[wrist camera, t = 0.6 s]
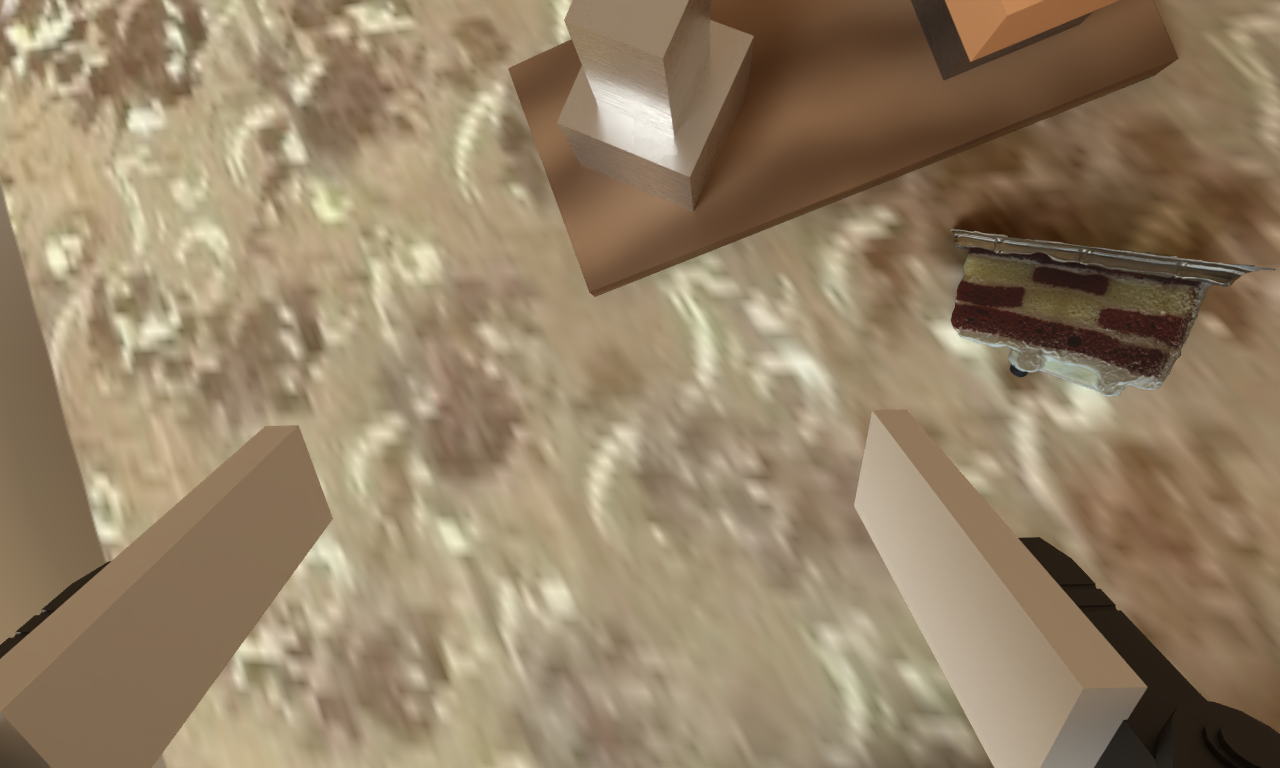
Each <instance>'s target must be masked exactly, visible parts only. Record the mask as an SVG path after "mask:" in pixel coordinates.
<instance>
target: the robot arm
mask: <svg viewBox="0 0 1280 768" xmlns="http://www.w3.org/2000/svg"><path fill="white" fill-rule="evenodd" d="M854 507H855V508H856V510H857V512H858V514H859V516H860V518H861V520H862V522H863V523H864V525H865V527H866V529H867V531H868V533H869V535H870V536H871V538H872V540H873V542H874V544H875V546H876V548H877V550H878V551H879V553H880V555H881V557H882V559H883V561H884V563H885V565H886V566H887V568H888V570H889V572H890V574H891V576H892V578H893V579H894V581H895V583H896V585H897V587H898V589H899V591H900V593H901V594H902V596H903V598H904V600H905V602H906V604H907V606H908V608H909V609H910V611H911V613H912V615H913V617H914V619H915V621H916V622H917V624H918V626H919V628H920V630H921V632H922V634H923V636H924V637H925V639H926V641H927V643H928V645H929V647H930V649H931V651H932V652H933V654H934V656H935V658H936V660H937V662H938V664H939V665H940V667H941V669H942V671H943V673H944V675H945V677H946V679H947V680H948V682H949V684H950V686H951V688H952V690H953V692H954V694H955V695H956V697H957V699H958V701H959V703H960V705H961V707H962V708H963V710H964V712H965V714H966V716H967V718H968V720H969V722H970V723H971V725H972V727H973V729H974V731H975V733H976V735H977V737H978V738H979V740H980V742H981V744H982V746H983V748H984V750H985V751H986V753H987V755H988V757H989V759H990V761H991V763H992V765H993V766H994V768H1280V734H1278V733H1277V732H1276V731H1275V730H1273V729H1272V728H1271V727H1269V726H1267V725H1265V724H1264V723H1262V722H1260V721H1258V720H1256V719H1254V718H1253V717H1251V716H1249V715H1247V714H1245V713H1243V712H1242V711H1239V710H1236V709H1233V708H1230V707H1227V706H1224V705H1221V704H1218V703H1215V702H1208V701H1207V700H1206V699H1205V698H1204V697H1203V696H1202V695H1201V694H1199V692H1198V691H1197V690H1196V689H1195V688H1194V687H1193V686H1192V685H1191V684H1190V683H1189V682H1188V681H1187V680H1186V679H1185V678H1184V677H1183V676H1182V675H1181V674H1180V672H1179V671H1178V670H1177V669H1176V668H1175V667H1174V666H1173V665H1172V664H1171V663H1170V662H1169V661H1168V660H1167V659H1166V658H1165V657H1164V656H1163V655H1162V653H1161V652H1160V651H1159V650H1158V649H1157V648H1156V647H1155V646H1154V645H1153V644H1152V643H1151V642H1150V641H1149V640H1148V639H1147V638H1146V637H1145V636H1144V634H1143V633H1142V632H1141V631H1140V630H1139V629H1138V628H1137V627H1136V626H1135V625H1134V624H1133V623H1132V622H1131V621H1130V620H1129V619H1128V618H1127V617H1126V615H1125V614H1124V613H1123V612H1122V611H1117V609H1116V607H1115V606H1116V605H1115V604H1114V603H1113V602H1112V601H1111V600H1110V599H1109V598H1108V596H1107V595H1106V594H1105V593H1104V592H1103V591H1102V590H1101V589H1097V588H1096V586H1095V583H1094V582H1093V581H1092V580H1091V579H1090V577H1089V576H1088V575H1087V574H1086V573H1085V572H1084V571H1083V570H1082V569H1081V568H1080V567H1079V566H1078V565H1077V564H1076V563H1075V562H1074V561H1073V560H1072V559H1071V558H1070V557H1068V556H1067V555H1065V554H1064V553H1062V552H1061V551H1059V550H1058V549H1056V548H1055V547H1053V546H1052V545H1050V544H1049V543H1047V542H1046V541H1044V540H1043V539H1041V538H1040V537H1035V538H1018V537H1017V536H1016V535H1015V534H1014V533H1013V532H1012V531H1011V529H1010V528H1009V527H1008V526H1007V525H1006V524H1005V523H1004V521H1003V520H1002V519H1001V518H1000V517H999V516H998V515H997V513H996V512H995V511H994V510H993V509H992V508H991V506H990V505H989V504H988V503H987V502H986V501H985V500H984V498H983V497H982V496H981V495H980V494H979V493H978V492H977V490H976V489H975V488H974V487H973V486H972V485H971V483H970V482H969V481H968V480H967V479H966V478H965V477H964V475H963V474H962V473H961V472H960V471H959V470H958V469H957V467H956V466H955V465H954V464H953V463H952V462H951V460H950V459H949V458H948V457H947V456H946V455H945V454H944V452H943V451H942V450H941V449H940V448H939V447H938V446H937V444H936V443H935V442H934V441H933V440H932V439H931V437H930V436H929V435H928V434H927V433H926V432H925V431H924V429H923V428H922V427H921V426H920V425H919V424H918V423H917V421H916V420H915V419H914V418H913V417H912V416H911V414H910V413H909V412H908V411H907V410H873V411H872V416H871V421H870V426H869V431H868V436H867V441H866V447H865V452H864V457H863V462H862V467H861V473H860V478H859V483H858V488H857V493H856V498H855V504H854ZM332 519H333V518H332V515H331V512H330V510H329V507H328V504H327V502H326V499H325V496H324V493H323V491H322V488H321V485H320V482H319V480H318V477H317V474H316V472H315V469H314V466H313V463H312V461H311V458H310V455H309V453H308V450H307V447H306V444H305V442H304V439H303V436H302V433H301V431H300V428H299V425H297V426H265V427H264V428H263V429H262V430H261V431H259V432H258V433H257V434H256V435H255V436H254V437H253V438H252V439H250V440H249V441H248V442H247V443H246V444H245V445H244V446H242V447H241V448H240V449H239V450H238V451H237V452H236V453H234V454H233V455H232V456H231V457H230V458H229V459H228V460H226V461H225V462H224V463H223V464H222V465H221V466H220V467H218V468H217V469H216V470H215V471H214V472H213V473H212V474H210V475H209V476H208V477H207V478H206V479H205V480H204V481H203V482H201V483H200V484H199V485H198V486H197V487H196V488H195V489H193V490H192V491H191V492H190V493H189V494H188V495H187V496H185V497H184V498H183V499H182V500H181V501H180V502H179V503H177V504H176V505H175V506H174V507H173V508H172V509H171V510H169V511H168V512H167V513H166V514H165V515H164V516H163V517H161V518H160V519H159V520H158V521H157V522H156V523H155V524H154V525H152V526H151V527H150V528H149V529H148V530H147V531H146V532H144V533H143V534H142V535H141V536H140V537H139V538H138V539H136V540H135V541H134V542H133V543H132V544H131V545H130V546H128V547H127V548H126V549H125V550H124V551H123V552H122V553H120V554H119V555H118V556H117V557H116V558H115V559H114V560H112V561H109V562H107V563H106V564H104V565H103V566H101V567H99V568H97V569H96V570H94V571H92V572H91V573H89V574H88V575H86V576H84V577H82V578H81V579H79V580H78V581H76V582H74V583H72V584H71V585H70V586H69V587H68V588H66V589H65V590H64V591H63V592H62V593H61V594H59V595H58V596H57V597H56V598H55V599H54V600H52V601H51V602H50V603H49V604H48V605H47V606H45V607H44V608H43V609H42V610H41V614H40V615H35V616H34V617H33V618H31V619H30V620H29V621H28V622H27V623H25V625H23V626H22V627H21V628H20V629H19V630H17V631H16V635H15V636H14V638H8V639H7V640H6V641H4V642H3V643H2V644H1V645H0V768H152V766H153V765H154V764H155V762H156V761H157V760H158V758H159V757H160V756H161V754H162V753H163V751H164V750H165V749H166V747H167V746H168V745H169V743H170V742H171V740H172V739H173V738H174V736H175V735H176V734H177V732H178V731H179V729H180V728H181V727H182V725H183V724H184V723H185V721H186V720H187V718H188V717H189V716H190V714H191V713H192V712H193V710H194V709H195V707H196V706H197V705H198V703H199V702H200V701H201V699H202V698H203V696H204V695H205V694H206V692H207V691H208V690H209V688H210V687H211V685H212V684H213V683H214V681H215V680H216V679H217V677H218V676H219V674H220V673H221V672H222V670H223V669H224V668H225V666H226V665H227V663H228V662H229V661H230V659H231V658H232V656H233V655H234V654H235V652H236V651H237V650H238V648H239V647H240V645H241V644H242V643H243V641H244V640H245V639H246V637H247V636H248V634H249V633H250V632H251V630H252V629H253V628H254V626H255V625H256V623H257V622H258V621H259V619H260V618H261V617H262V615H263V614H264V612H265V611H266V610H267V608H268V607H269V606H270V604H271V603H272V601H273V600H274V599H275V597H276V596H277V595H278V593H279V592H280V590H281V589H282V588H283V586H284V585H285V584H286V582H287V581H288V579H289V578H290V577H291V575H292V574H293V573H294V571H295V570H296V568H297V567H298V566H299V564H300V563H301V562H302V560H303V559H304V557H305V556H306V555H307V553H308V552H309V551H310V549H311V548H312V546H313V545H314V544H315V542H316V541H317V540H318V538H319V537H320V535H321V534H322V533H323V531H324V530H325V529H326V527H327V526H328V524H329V523H330V522H331V520H332Z"/></svg>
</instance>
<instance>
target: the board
mask: <svg viewBox="0 0 1280 768" xmlns="http://www.w3.org/2000/svg"><path fill="white" fill-rule="evenodd" d="M710 20H712V21H715V22H718V23H720V24H723V25H726V26H728V27H731V28H734V29H736V30H739V31H742V32H745V33H747V34H750V35H753V36H754V40H753V48H752V56H751V64H750V72H749V80H748V88H747V95H746V97H745V99H744V101H743V104H742V106H741V108H740V110H739V112H738V115H737V117H736V119H735V121H734V123H733V126H732V128H731V130H730V132H729V134H728V137H727V139H726V141H725V143H724V145H723V147H722V150H721V152H720V154H719V156H718V158H717V161H716V163H715V165H714V167H713V169H712V172H711V174H710V176H709V178H708V180H707V183H706V185H705V187H704V189H703V191H702V194H701V196H700V198H699V200H698V202H697V204H696V207H695V209H694V211H693V212H692V211H690V210H688V209H685V208H683V207H681V206H678V205H676V204H673V203H671V202H669V201H666V200H664V199H661V198H659V197H657V196H654V195H652V194H649V193H647V192H645V191H642V190H640V189H637V188H635V187H633V186H630V185H628V184H625V183H623V182H621V181H618V180H616V179H613V178H611V177H609V176H606V175H604V174H601V173H599V172H597V171H594V170H592V169H590V168H587V167H585V166H582V165H581V164H580V162H579V160H578V159H577V157H576V155H575V153H574V152H573V150H572V148H571V146H570V145H569V143H568V141H567V139H566V138H565V136H564V134H563V133H562V131H561V129H560V127H559V126H558V124H557V121H558V119H559V116H560V114H561V112H562V110H563V107H564V105H565V103H566V101H567V98H568V96H569V94H570V92H571V89H572V87H573V85H574V82H575V80H576V78H577V76H578V73H579V71H580V69H581V67H582V64H581V61H580V59H579V56H578V54H577V51H576V49H575V46H574V44H573V41H572V40H569V41H567V42H565V43H563V44H561V45H558V46H556V47H554V48H552V49H550V50H548V51H545V52H543V53H541V54H539V55H537V56H534V57H532V58H530V59H528V60H526V61H523V62H521V63H519V64H517V65H515V66H512V67H510V68H508V69H509V72H510V75H511V78H512V80H513V83H514V86H515V89H516V91H517V94H518V97H519V100H520V102H521V105H522V108H523V111H524V113H525V116H526V119H527V122H528V124H529V127H530V130H531V133H532V135H533V138H534V141H535V144H536V146H537V149H538V152H539V155H540V157H541V160H542V163H543V166H544V168H545V171H546V174H547V177H548V179H549V182H550V185H551V188H552V190H553V193H554V196H555V199H556V201H557V204H558V207H559V210H560V212H561V215H562V218H563V221H564V224H565V226H566V229H567V232H568V235H569V237H570V240H571V243H572V246H573V248H574V251H575V254H576V257H577V259H578V262H579V265H580V268H581V270H582V273H583V276H584V279H585V281H586V284H587V287H588V290H589V292H590V293H591V294H592V295H593V296H595V297H596V296H598V295H601V294H603V293H606V292H608V291H611V290H613V289H616V288H618V287H621V286H623V285H626V284H628V283H631V282H633V281H636V280H639V279H641V278H644V277H646V276H649V275H651V274H654V273H656V272H659V271H661V270H664V269H666V268H669V267H671V266H674V265H676V264H679V263H681V262H684V261H687V260H689V259H692V258H694V257H697V256H699V255H702V254H704V253H707V252H709V251H712V250H714V249H717V248H719V247H722V246H724V245H727V244H729V243H732V242H735V241H737V240H740V239H742V238H745V237H747V236H750V235H752V234H755V233H757V232H760V231H762V230H765V229H767V228H770V227H772V226H775V225H778V224H780V223H783V222H785V221H788V220H790V219H793V218H795V217H798V216H800V215H803V214H805V213H808V212H810V211H813V210H815V209H818V208H820V207H823V206H826V205H828V204H831V203H833V202H836V201H838V200H841V199H843V198H846V197H848V196H851V195H853V194H856V193H858V192H861V191H863V190H866V189H868V188H871V187H874V186H876V185H879V184H881V183H884V182H886V181H889V180H891V179H894V178H896V177H899V176H901V175H904V174H906V173H909V172H911V171H914V170H916V169H919V168H922V167H924V166H927V165H929V164H932V163H934V162H937V161H939V160H942V159H944V158H947V157H949V156H952V155H954V154H957V153H959V152H962V151H965V150H967V149H970V148H972V147H975V146H977V145H980V144H982V143H985V142H987V141H990V140H992V139H995V138H997V137H1000V136H1002V135H1005V134H1007V133H1010V132H1013V131H1015V130H1018V129H1020V128H1023V127H1025V126H1028V125H1030V124H1033V123H1035V122H1038V121H1040V120H1043V119H1045V118H1048V117H1050V116H1053V115H1055V114H1058V113H1061V112H1063V111H1066V110H1068V109H1071V108H1073V107H1076V106H1078V105H1081V104H1083V103H1086V102H1088V101H1091V100H1093V99H1096V98H1098V97H1101V96H1103V95H1106V94H1109V93H1111V92H1114V91H1116V90H1119V89H1121V88H1124V87H1126V86H1129V85H1131V84H1134V83H1136V82H1139V81H1141V80H1144V79H1146V78H1149V77H1152V76H1154V75H1156V74H1157V73H1158V72H1160V71H1161V70H1163V69H1164V68H1166V67H1167V66H1168V65H1170V64H1171V63H1173V62H1174V61H1175V60H1177V59H1178V56H1177V54H1176V51H1175V49H1174V47H1173V44H1172V42H1171V40H1170V38H1169V35H1168V33H1167V31H1166V28H1165V26H1164V24H1163V21H1162V19H1161V17H1160V15H1159V12H1158V10H1157V8H1156V5H1155V3H1154V1H1153V0H1119V1H1117V2H1114V3H1112V4H1110V5H1107V6H1105V7H1102V8H1100V9H1098V10H1095V11H1093V12H1092V13H1091V14H1090V15H1089V16H1088V17H1087V18H1086V19H1085V20H1084V21H1083V22H1082V23H1081V24H1080V25H1078V26H1075V27H1073V28H1070V29H1068V30H1066V31H1063V32H1061V33H1058V34H1056V35H1053V36H1051V37H1049V38H1046V39H1044V40H1041V41H1039V42H1037V43H1034V44H1032V45H1029V46H1027V47H1024V48H1022V49H1020V50H1017V51H1015V52H1012V53H1010V54H1007V55H1005V56H1003V57H1000V58H998V59H995V60H993V61H990V62H988V63H986V64H983V65H981V66H978V67H976V68H973V69H971V70H969V71H966V72H964V73H961V74H959V75H956V76H954V77H952V78H949V79H947V80H944V81H943V78H942V76H941V73H940V71H939V68H938V66H937V64H936V61H935V59H934V56H933V54H932V51H931V49H930V47H929V44H928V42H927V39H926V37H925V34H924V32H923V29H922V27H921V25H920V22H919V20H918V17H917V15H916V12H915V10H914V7H913V5H912V3H911V0H710Z"/></svg>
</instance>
